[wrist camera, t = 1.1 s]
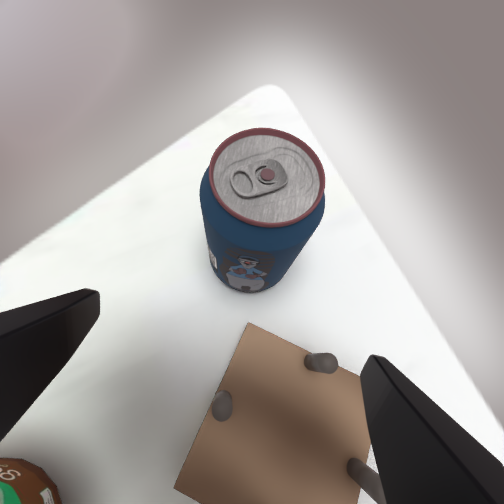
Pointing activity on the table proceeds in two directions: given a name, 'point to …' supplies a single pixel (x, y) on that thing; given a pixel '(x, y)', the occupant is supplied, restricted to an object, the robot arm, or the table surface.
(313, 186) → the soda can
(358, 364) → the table surface
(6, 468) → the food container
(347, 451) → the walnut cradle
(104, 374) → the table surface
